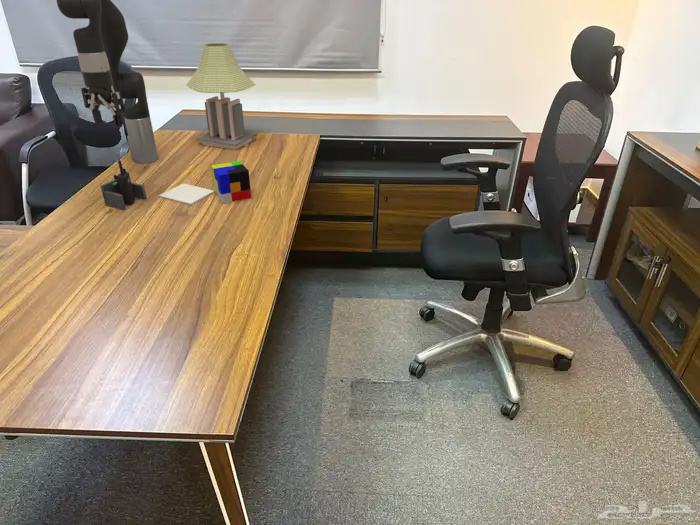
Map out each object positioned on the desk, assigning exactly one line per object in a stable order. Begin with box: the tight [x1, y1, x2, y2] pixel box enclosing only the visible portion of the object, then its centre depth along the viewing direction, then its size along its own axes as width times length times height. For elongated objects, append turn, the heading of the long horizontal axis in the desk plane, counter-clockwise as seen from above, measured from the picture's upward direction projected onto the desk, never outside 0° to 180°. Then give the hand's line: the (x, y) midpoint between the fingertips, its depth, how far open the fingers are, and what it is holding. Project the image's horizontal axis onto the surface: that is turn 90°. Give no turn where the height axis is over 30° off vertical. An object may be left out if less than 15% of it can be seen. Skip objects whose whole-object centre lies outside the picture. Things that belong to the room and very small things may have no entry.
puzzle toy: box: [210, 160, 252, 204], centre depth 166 cm, size 10×10×10 cm
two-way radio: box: [113, 159, 136, 206], centre depth 159 cm, size 6×4×15 cm
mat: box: [158, 183, 215, 206], centre depth 168 cm, size 14×12×1 cm
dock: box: [99, 179, 148, 211], centre depth 161 cm, size 8×10×7 cm
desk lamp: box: [185, 42, 258, 151], centre depth 206 cm, size 26×28×40 cm
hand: (109, 125), depth 149 cm, fingers open, 8 cm apart
